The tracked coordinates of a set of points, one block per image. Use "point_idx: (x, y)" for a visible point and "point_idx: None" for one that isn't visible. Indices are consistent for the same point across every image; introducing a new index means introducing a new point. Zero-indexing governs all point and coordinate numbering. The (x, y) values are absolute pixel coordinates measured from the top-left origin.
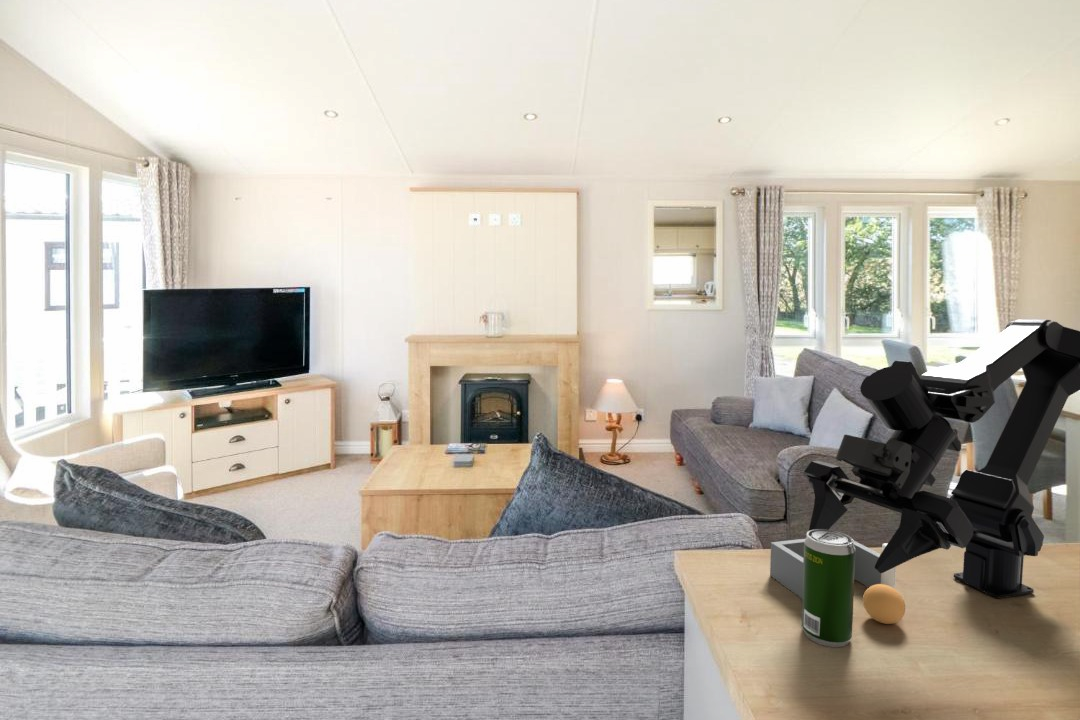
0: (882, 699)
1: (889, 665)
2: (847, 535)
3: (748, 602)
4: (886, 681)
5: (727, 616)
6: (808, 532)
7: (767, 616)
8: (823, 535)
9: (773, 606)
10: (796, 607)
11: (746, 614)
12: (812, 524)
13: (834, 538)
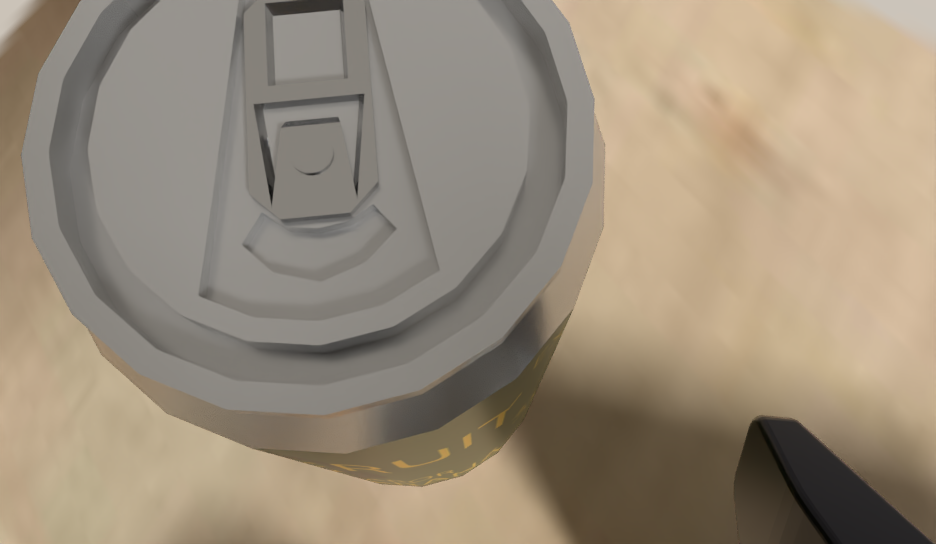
0: (4, 145)
1: (96, 400)
2: (207, 391)
3: (856, 276)
4: (48, 270)
5: (780, 73)
6: (553, 31)
7: (692, 249)
8: (405, 135)
9: (762, 366)
10: (696, 479)
11: (756, 169)
12: (868, 520)
13: (281, 193)
